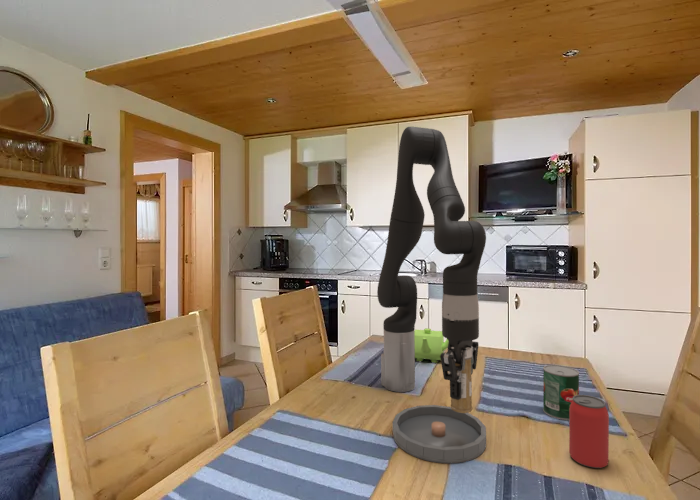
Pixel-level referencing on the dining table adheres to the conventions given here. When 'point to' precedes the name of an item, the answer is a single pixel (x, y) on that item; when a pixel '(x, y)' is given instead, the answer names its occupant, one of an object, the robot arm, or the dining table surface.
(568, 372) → the canned tomato
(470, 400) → the sprinkles bottle
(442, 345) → the kettle
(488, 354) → the dining table surface
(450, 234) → the robot arm
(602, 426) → the beer can
